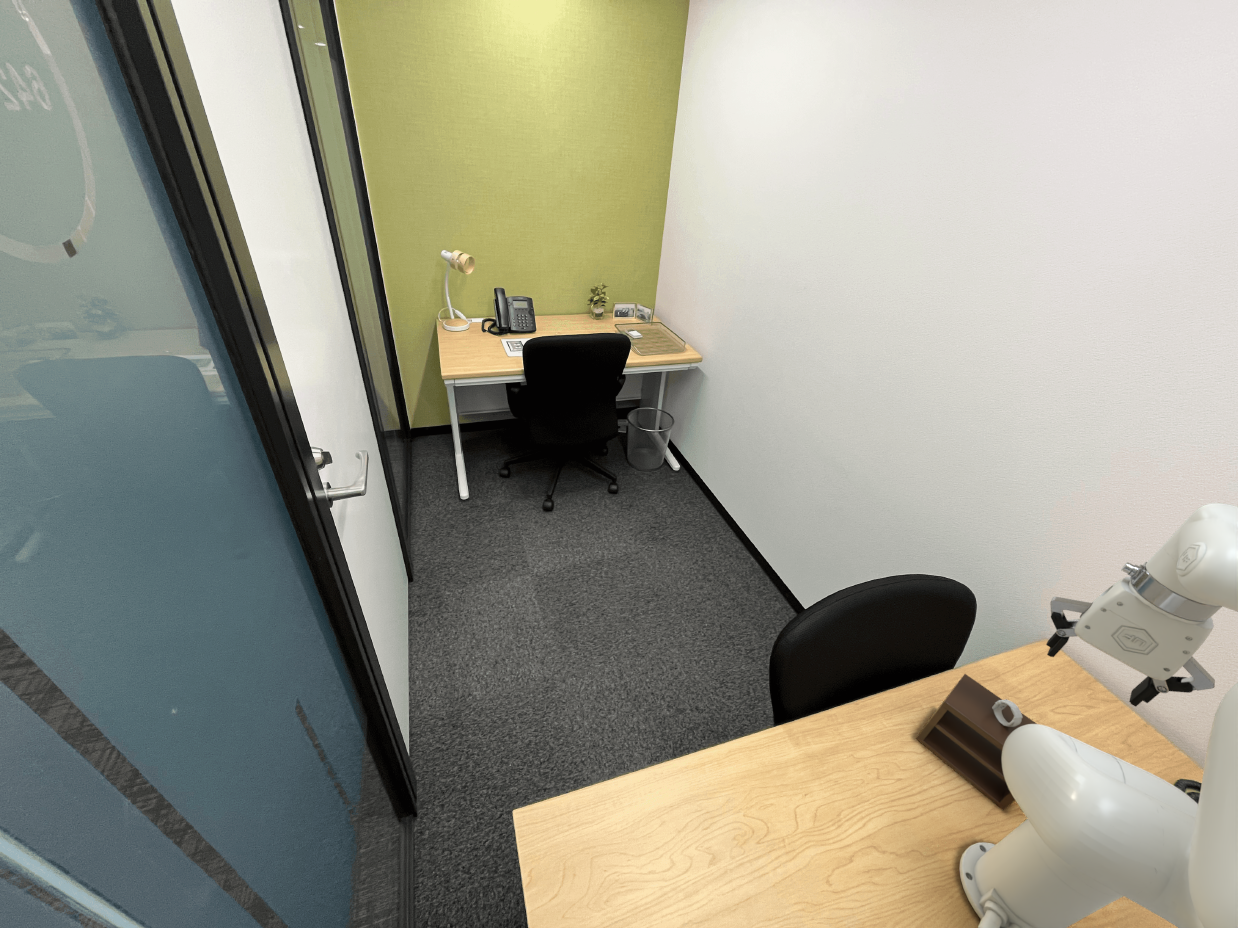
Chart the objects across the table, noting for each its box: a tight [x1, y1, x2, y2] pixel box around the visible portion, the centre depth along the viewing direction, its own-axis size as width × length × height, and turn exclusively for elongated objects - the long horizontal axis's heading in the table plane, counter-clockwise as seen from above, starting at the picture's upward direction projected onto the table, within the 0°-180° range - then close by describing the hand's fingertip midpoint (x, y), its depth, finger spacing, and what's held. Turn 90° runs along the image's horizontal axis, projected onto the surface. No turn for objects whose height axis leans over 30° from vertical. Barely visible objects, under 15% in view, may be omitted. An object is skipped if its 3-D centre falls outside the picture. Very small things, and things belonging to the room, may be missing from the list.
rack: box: [915, 673, 1038, 811], centre depth 83 cm, size 9×14×12 cm, turn 39°
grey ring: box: [992, 699, 1023, 727], centre depth 79 cm, size 4×2×4 cm, turn 8°
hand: (1090, 674), depth 71 cm, fingers open, 9 cm apart
